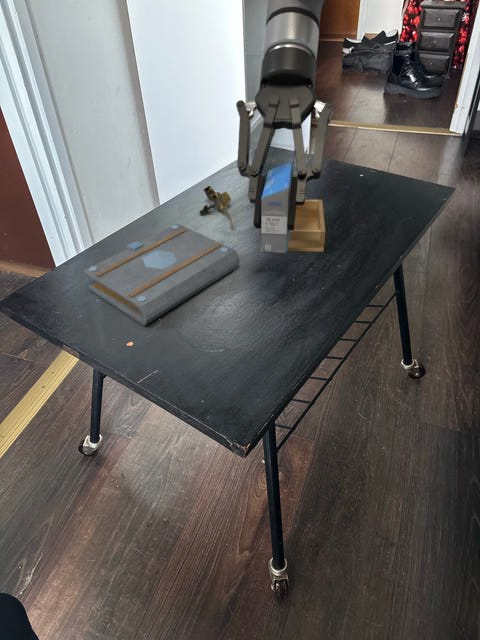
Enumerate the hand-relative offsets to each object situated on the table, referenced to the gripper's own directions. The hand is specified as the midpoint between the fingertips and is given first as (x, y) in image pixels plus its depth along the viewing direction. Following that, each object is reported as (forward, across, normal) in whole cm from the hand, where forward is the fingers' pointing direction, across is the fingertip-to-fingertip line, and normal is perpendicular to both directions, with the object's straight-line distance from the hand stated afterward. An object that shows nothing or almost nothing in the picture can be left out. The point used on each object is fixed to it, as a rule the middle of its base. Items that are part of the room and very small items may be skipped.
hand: (274, 226), depth 64 cm
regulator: (-12, +15, -36) cm, 40 cm away
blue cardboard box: (0, 0, -6) cm, 6 cm away
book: (+6, +20, -17) cm, 27 cm away
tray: (-8, -2, -31) cm, 32 cm away
